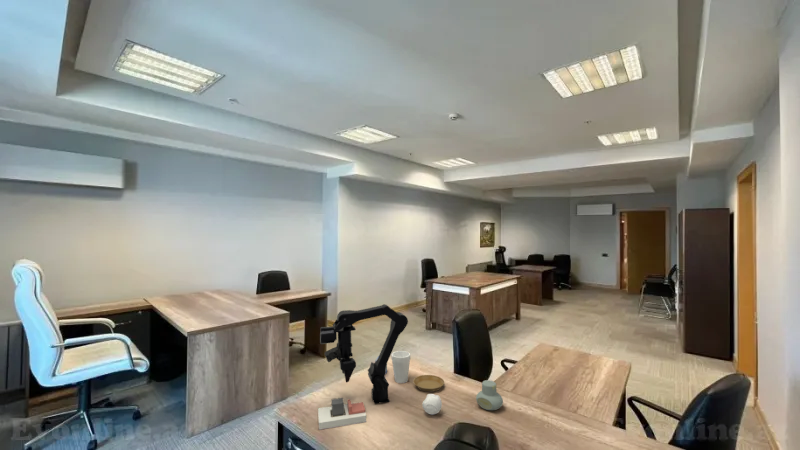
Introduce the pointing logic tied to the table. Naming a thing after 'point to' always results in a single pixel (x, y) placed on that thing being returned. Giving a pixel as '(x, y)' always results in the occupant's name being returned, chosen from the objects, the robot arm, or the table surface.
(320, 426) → the socket plate
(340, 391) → the table surface
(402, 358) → the foam cup
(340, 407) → the plug
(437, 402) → the crumpled paper ball
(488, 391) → the air freshener
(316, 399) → the table surface
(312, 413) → the table surface
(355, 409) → the pink toy block
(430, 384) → the plant saucer
